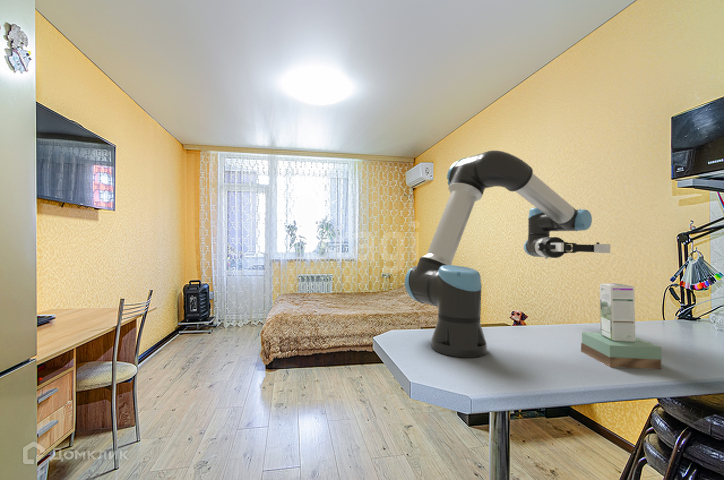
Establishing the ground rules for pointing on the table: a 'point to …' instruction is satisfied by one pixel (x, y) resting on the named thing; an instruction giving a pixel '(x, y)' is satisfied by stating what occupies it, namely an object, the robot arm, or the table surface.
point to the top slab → (621, 347)
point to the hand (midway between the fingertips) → (585, 247)
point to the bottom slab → (621, 360)
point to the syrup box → (617, 312)
